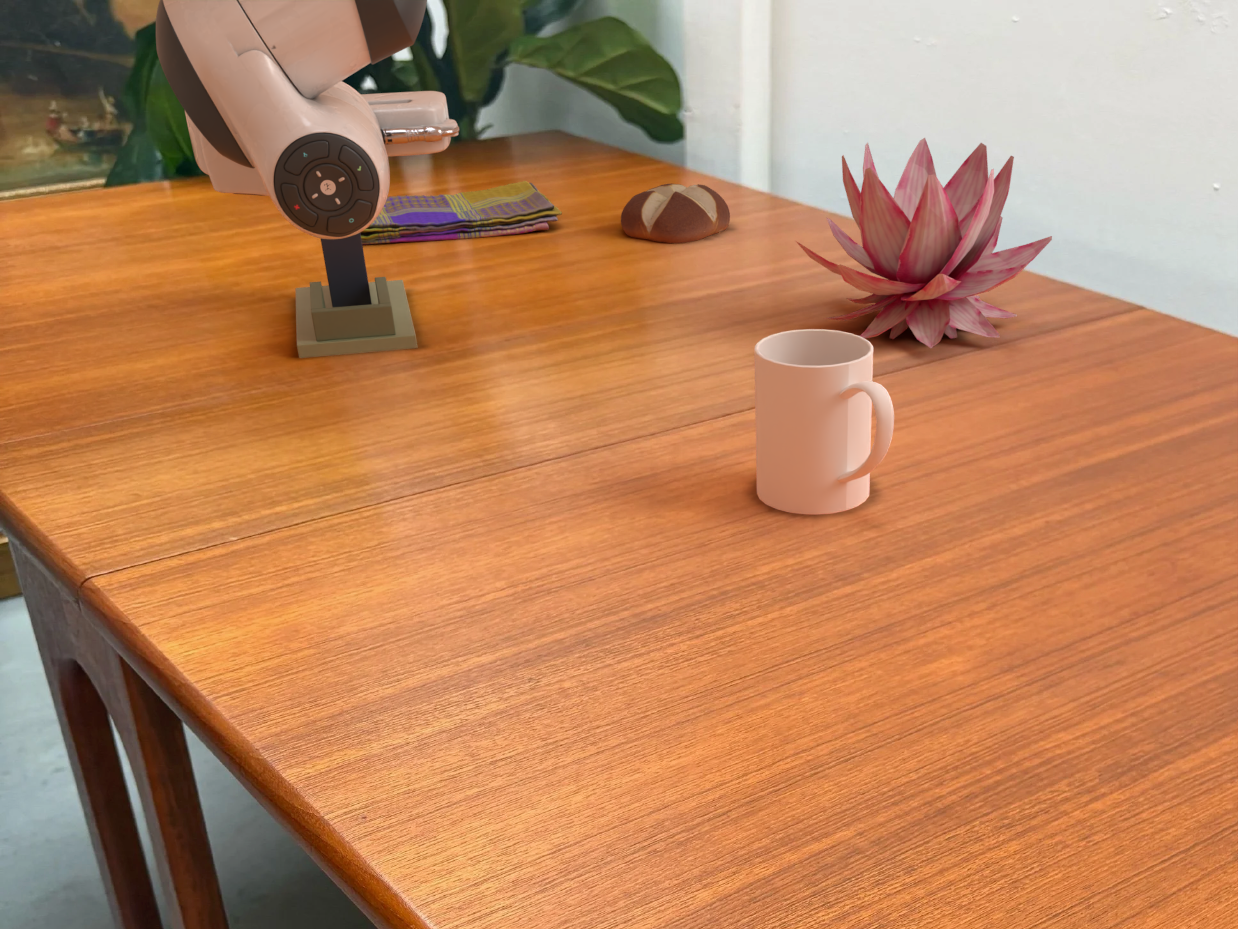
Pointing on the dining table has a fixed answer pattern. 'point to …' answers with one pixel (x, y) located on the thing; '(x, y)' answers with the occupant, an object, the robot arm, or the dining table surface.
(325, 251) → the mount
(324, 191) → the robot arm
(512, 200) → the dish towel
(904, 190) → the decorative flower
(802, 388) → the mug
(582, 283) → the dining table surface
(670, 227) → the bread
